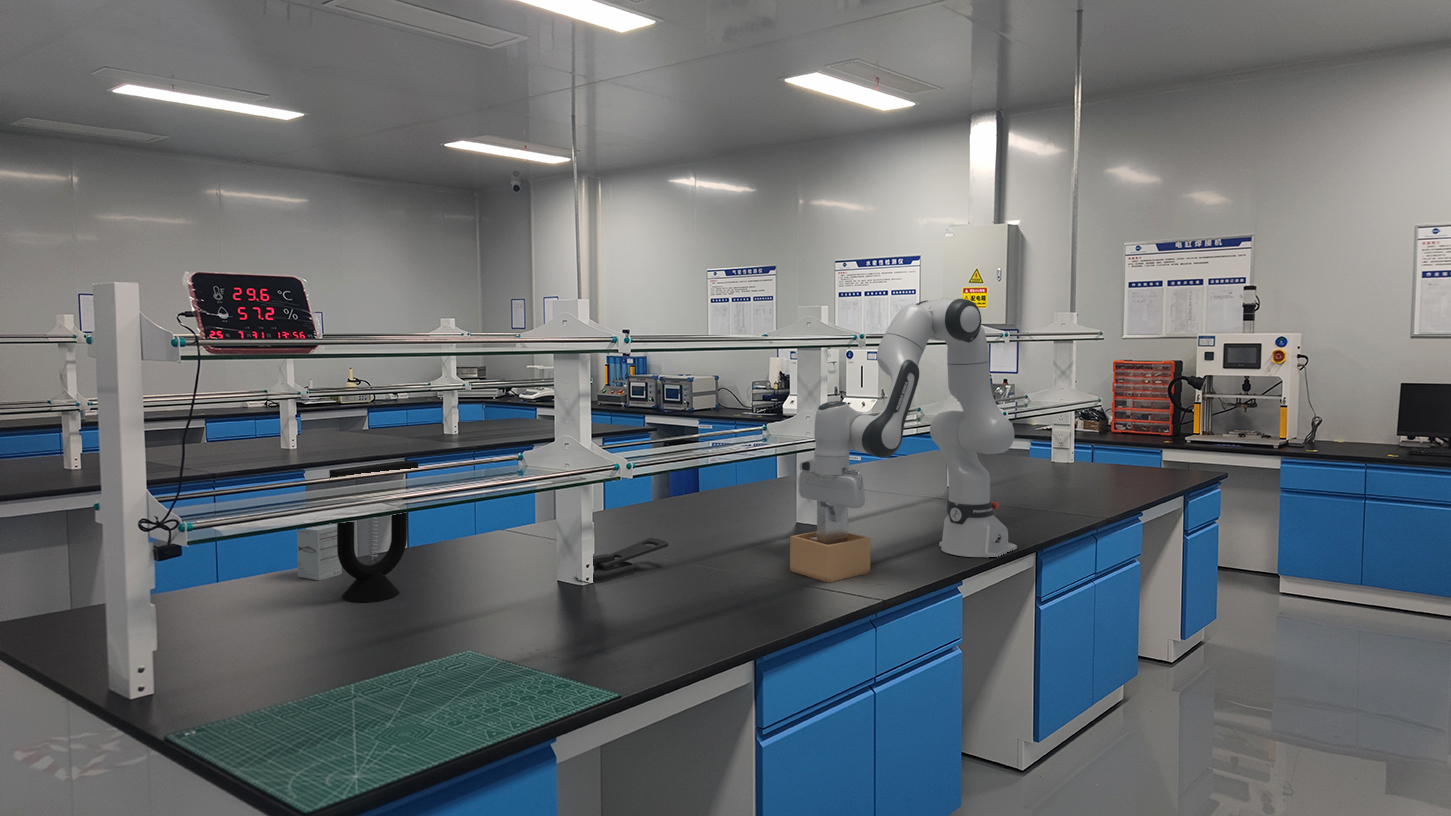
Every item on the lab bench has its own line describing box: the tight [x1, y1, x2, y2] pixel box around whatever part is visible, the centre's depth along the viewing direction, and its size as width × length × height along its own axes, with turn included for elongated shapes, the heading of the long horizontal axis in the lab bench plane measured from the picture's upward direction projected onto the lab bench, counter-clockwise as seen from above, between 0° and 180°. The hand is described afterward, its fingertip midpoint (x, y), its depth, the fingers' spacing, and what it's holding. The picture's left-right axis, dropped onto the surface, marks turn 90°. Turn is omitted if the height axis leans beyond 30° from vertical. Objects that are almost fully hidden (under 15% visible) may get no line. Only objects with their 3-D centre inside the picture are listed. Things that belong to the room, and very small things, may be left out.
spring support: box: [328, 459, 419, 603], centre depth 206 cm, size 21×12×30 cm, turn 147°
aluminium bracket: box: [809, 503, 849, 545], centre depth 228 cm, size 8×6×10 cm
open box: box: [789, 530, 872, 584], centre depth 227 cm, size 15×14×9 cm
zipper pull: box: [592, 537, 669, 584], centre depth 226 cm, size 9×7×25 cm
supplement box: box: [296, 523, 343, 582], centre depth 221 cm, size 7×7×13 cm
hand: (830, 520), depth 227 cm, fingers closed on aluminium bracket, 3 cm apart
